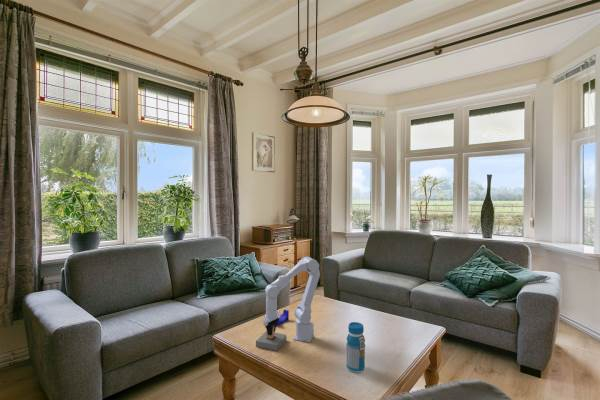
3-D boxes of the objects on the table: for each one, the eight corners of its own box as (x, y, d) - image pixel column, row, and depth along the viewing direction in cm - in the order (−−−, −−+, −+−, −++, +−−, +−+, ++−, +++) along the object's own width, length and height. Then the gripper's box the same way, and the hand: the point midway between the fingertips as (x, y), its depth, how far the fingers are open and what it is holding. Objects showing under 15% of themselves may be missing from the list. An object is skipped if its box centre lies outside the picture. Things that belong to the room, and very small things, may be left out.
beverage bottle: (347, 373, 138) (348, 329, 137) (344, 362, 147) (345, 320, 146) (366, 373, 138) (367, 329, 137) (362, 362, 147) (363, 321, 146)
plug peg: (274, 336, 166) (274, 325, 165) (271, 339, 163) (271, 327, 163) (269, 335, 167) (269, 324, 166) (266, 338, 164) (266, 326, 164)
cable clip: (283, 318, 197) (283, 308, 197) (288, 320, 194) (288, 310, 194) (270, 325, 187) (270, 315, 187) (276, 327, 185) (276, 317, 184)
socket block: (286, 340, 168) (286, 334, 168) (276, 351, 157) (276, 345, 157) (266, 336, 172) (266, 331, 172) (255, 346, 161) (255, 340, 161)
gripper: (270, 302, 172) (270, 326, 173) (258, 312, 159) (258, 338, 159) (282, 304, 170) (282, 328, 170) (270, 314, 156) (270, 340, 157)
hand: (271, 333), depth 164 cm, fingers closed on plug peg, 3 cm apart
